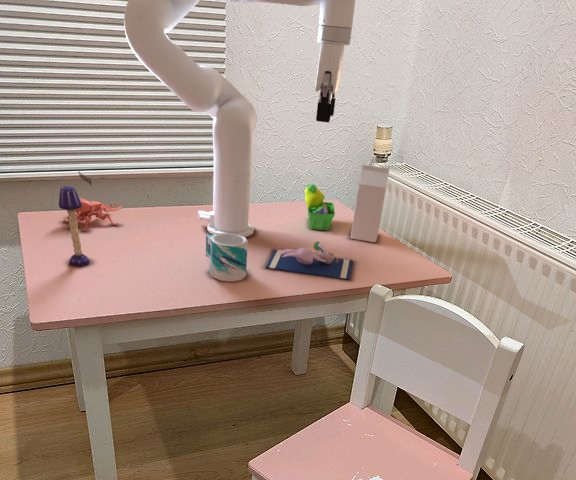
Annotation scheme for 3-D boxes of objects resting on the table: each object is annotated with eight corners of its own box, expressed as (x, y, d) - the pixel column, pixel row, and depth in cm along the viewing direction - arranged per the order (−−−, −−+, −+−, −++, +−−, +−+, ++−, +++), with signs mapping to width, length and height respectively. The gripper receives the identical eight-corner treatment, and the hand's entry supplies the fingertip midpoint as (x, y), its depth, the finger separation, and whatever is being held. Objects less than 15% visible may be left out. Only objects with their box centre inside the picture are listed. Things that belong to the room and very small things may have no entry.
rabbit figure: (327, 262, 146) (274, 257, 139) (333, 239, 143) (279, 233, 136) (338, 271, 141) (284, 267, 134) (345, 248, 138) (290, 242, 131)
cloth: (265, 268, 137) (265, 266, 136) (274, 250, 147) (274, 249, 146) (349, 280, 135) (349, 278, 135) (352, 261, 145) (352, 260, 145)
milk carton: (375, 243, 158) (388, 171, 147) (350, 239, 159) (361, 167, 148) (377, 234, 164) (390, 165, 153) (353, 231, 165) (363, 161, 154)
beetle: (74, 233, 144) (67, 182, 137) (57, 218, 152) (51, 169, 145) (130, 226, 152) (127, 177, 145) (112, 212, 160) (108, 165, 153)
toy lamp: (68, 267, 127) (58, 191, 118) (65, 259, 131) (54, 184, 122) (91, 265, 130) (82, 190, 120) (86, 257, 133) (78, 183, 124)
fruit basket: (332, 232, 162) (338, 192, 156) (301, 229, 162) (305, 189, 155) (331, 219, 171) (336, 181, 165) (301, 217, 171) (305, 178, 165)
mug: (221, 283, 127) (222, 247, 123) (195, 264, 135) (195, 229, 130) (252, 277, 132) (254, 242, 127) (225, 258, 139) (226, 225, 135)
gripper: (321, 33, 137) (313, 111, 147) (313, 35, 123) (304, 122, 132) (353, 36, 136) (343, 114, 146) (347, 39, 122) (337, 126, 132)
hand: (324, 118), depth 139 cm, fingers open, 9 cm apart
